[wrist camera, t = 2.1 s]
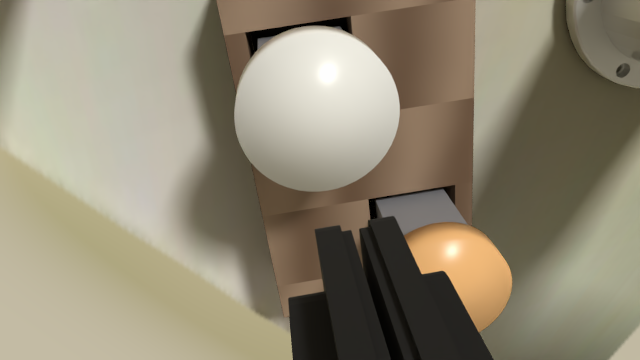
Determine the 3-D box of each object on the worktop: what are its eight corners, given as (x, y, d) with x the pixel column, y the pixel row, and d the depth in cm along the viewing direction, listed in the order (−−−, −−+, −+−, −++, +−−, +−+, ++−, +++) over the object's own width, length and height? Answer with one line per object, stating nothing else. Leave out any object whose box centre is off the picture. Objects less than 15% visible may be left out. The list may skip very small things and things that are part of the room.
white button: (361, -4, 24) (394, 21, 18) (371, 121, 27) (403, 178, 21) (227, 16, 24) (217, 48, 18) (253, 140, 27) (251, 203, 21)
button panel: (440, -64, 27) (476, -61, 23) (445, 240, 36) (470, 285, 32) (219, -32, 27) (211, -22, 22) (280, 268, 36) (283, 317, 32)
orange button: (462, 166, 29) (515, 230, 23) (462, 256, 32) (508, 333, 26) (352, 184, 29) (377, 253, 23) (362, 273, 32) (386, 355, 26)
